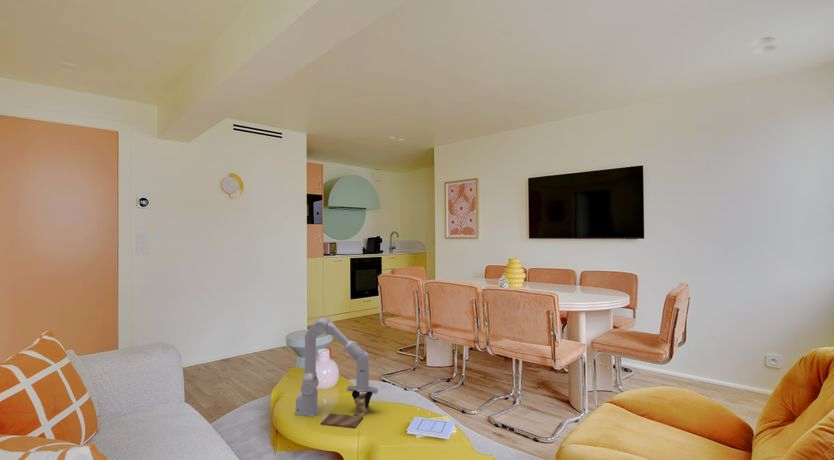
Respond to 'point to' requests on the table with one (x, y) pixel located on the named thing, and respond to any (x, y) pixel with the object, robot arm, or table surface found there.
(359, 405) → the oak stool
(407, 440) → the table surface
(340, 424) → the walnut board
